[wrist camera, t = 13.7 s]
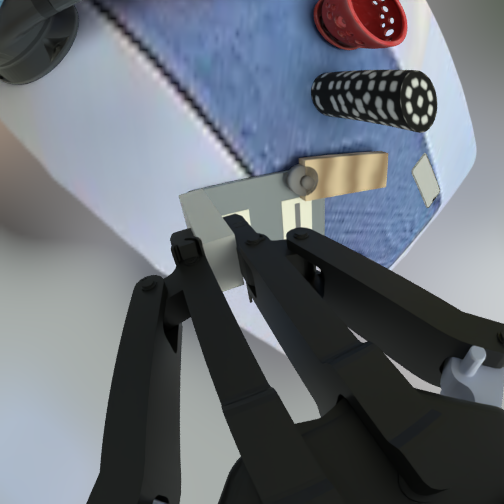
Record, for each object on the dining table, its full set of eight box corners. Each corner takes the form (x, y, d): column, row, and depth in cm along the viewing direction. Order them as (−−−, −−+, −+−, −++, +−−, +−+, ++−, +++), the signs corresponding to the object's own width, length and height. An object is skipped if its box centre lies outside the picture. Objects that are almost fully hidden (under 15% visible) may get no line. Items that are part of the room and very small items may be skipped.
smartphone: (425, 151, 57) (440, 190, 65) (423, 151, 58) (438, 190, 66) (411, 171, 58) (427, 209, 66) (409, 170, 58) (425, 208, 67)
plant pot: (372, 28, 38) (417, 22, 29) (342, 65, 41) (389, 62, 31) (328, -19, 32) (370, -36, 22) (291, 16, 34) (333, -2, 24)
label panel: (188, 188, 43) (190, 192, 41) (320, 161, 49) (327, 164, 47) (209, 283, 53) (211, 290, 51) (321, 249, 59) (326, 254, 57)
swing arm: (286, 200, 47) (295, 206, 45) (285, 159, 44) (294, 163, 41) (379, 184, 53) (389, 188, 50) (381, 151, 49) (392, 154, 47)
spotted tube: (342, 122, 47) (429, 141, 30) (305, 107, 43) (393, 116, 27) (353, 83, 43) (441, 89, 27) (317, 65, 40) (407, 58, 24)
